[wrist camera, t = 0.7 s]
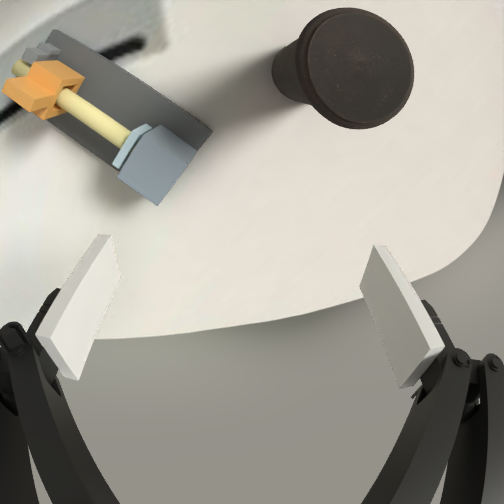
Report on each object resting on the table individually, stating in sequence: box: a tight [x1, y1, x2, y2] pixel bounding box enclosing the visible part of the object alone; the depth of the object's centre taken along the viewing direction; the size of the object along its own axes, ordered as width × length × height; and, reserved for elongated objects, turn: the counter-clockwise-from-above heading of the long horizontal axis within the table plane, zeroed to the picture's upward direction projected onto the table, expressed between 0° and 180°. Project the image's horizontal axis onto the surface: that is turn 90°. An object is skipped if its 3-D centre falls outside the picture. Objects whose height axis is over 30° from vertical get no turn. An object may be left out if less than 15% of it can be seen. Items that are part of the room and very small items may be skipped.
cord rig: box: [12, 30, 213, 206], centre depth 28 cm, size 30×12×8 cm, turn 49°
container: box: [272, 8, 414, 129], centre depth 22 cm, size 9×9×20 cm
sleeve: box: [2, 60, 85, 120], centre depth 23 cm, size 6×6×10 cm
